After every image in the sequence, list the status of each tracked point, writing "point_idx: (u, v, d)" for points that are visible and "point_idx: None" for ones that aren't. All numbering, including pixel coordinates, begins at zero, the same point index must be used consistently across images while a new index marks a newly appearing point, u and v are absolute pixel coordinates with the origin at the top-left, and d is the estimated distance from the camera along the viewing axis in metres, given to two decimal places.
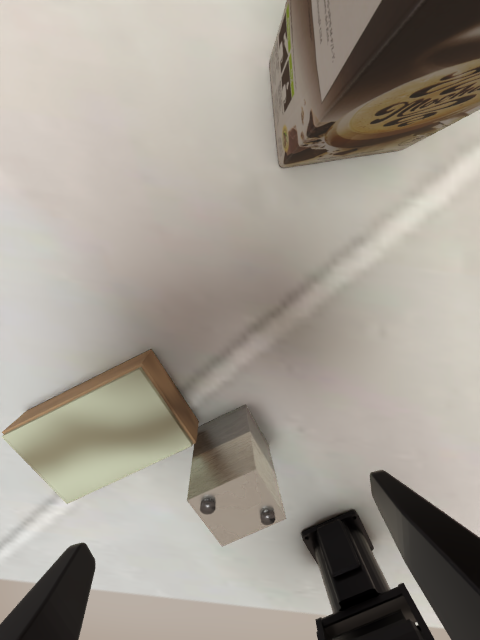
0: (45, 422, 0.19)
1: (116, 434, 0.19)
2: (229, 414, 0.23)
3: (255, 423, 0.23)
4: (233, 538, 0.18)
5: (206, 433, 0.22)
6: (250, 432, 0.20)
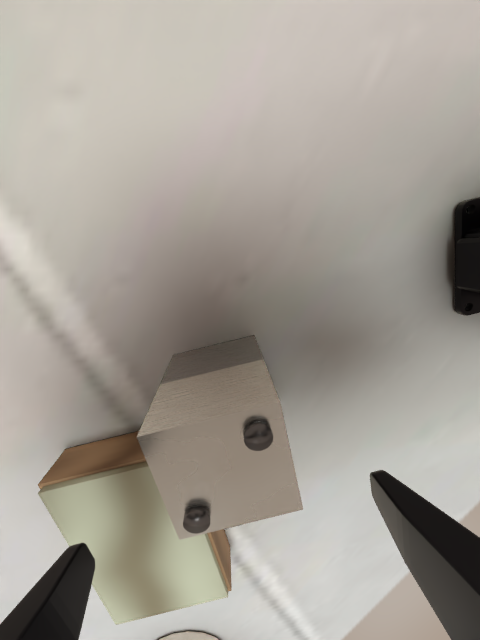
0: (104, 589, 0.16)
1: (136, 534, 0.15)
2: None
3: (205, 349, 0.15)
4: (291, 491, 0.10)
5: None
6: (163, 383, 0.12)
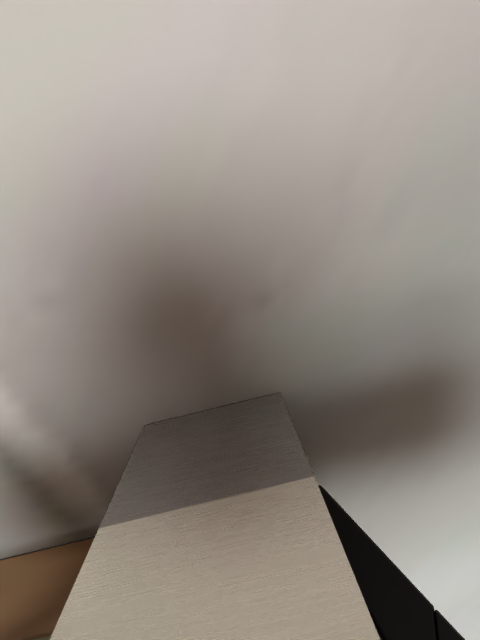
0: None
1: None
2: None
3: (197, 419, 0.09)
4: None
5: None
6: (106, 525, 0.06)
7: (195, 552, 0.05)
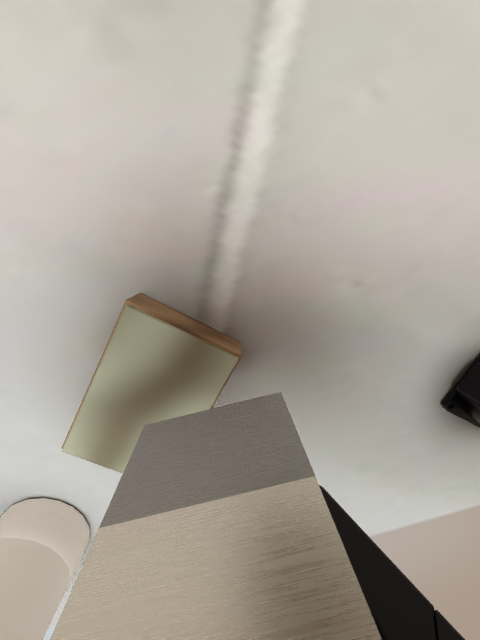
0: (85, 415, 0.17)
1: (156, 390, 0.17)
2: None
3: (197, 419, 0.09)
4: None
5: None
6: (106, 525, 0.06)
7: (196, 552, 0.05)
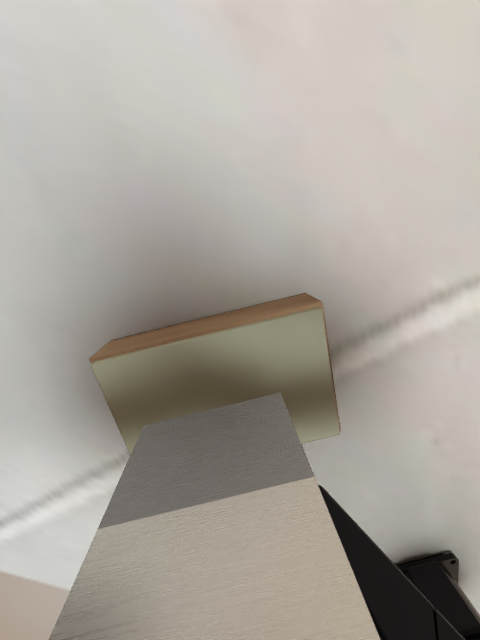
0: (161, 357, 0.13)
1: (250, 396, 0.14)
2: None
3: (197, 419, 0.09)
4: None
5: None
6: (105, 526, 0.06)
7: (194, 553, 0.05)
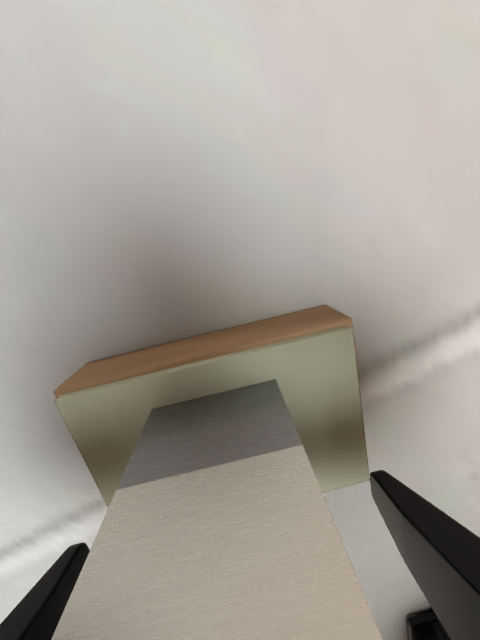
0: (146, 390, 0.10)
1: None
2: None
3: (200, 402, 0.10)
4: None
5: None
6: (122, 487, 0.07)
7: (200, 504, 0.06)
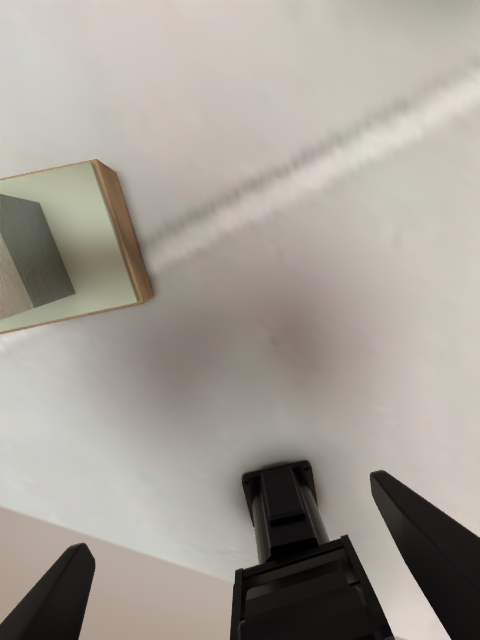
0: None
1: None
2: None
3: None
4: None
5: None
6: None
7: None
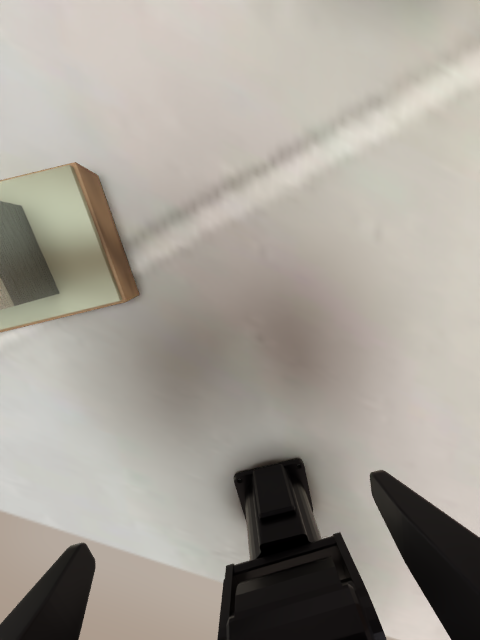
0: None
1: None
2: None
3: None
4: None
5: None
6: None
7: None
